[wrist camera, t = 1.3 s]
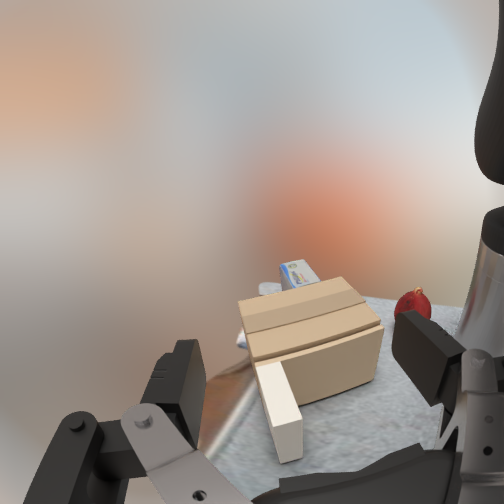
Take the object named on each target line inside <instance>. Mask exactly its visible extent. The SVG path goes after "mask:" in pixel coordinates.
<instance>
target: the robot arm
mask: <svg viewBox="0 0 504 504" xmlns="http://www.w3.org/2000/svg"><path fill="white" fill-rule="evenodd" d="M474 142H475V143H474V144H475V155H476V160H477V163H478V165H479V168H480V170H481V171H482V173H483V174H484V175H485V176H486V177H487V178H488V179H490V180H491V181H493V182H496V183H499V184H502V185H504V0H499V30H498V41H497V48H496V54H495V58H494V62H493V66H492V70H491V74H490V77H489V80H488V83H487V86H486V89H485V93H484V96H483V98H482V102H481V105H480V108H479V112H478V116H477V121H476V127H475V139H474ZM392 354H393V356H394V358H395V360H396V361H397V362H398V364H399V365H400V366H401V368H402V369H403V370H404V371H405V373H406V374H407V375H408V377H409V378H410V379H411V381H412V382H413V383H414V385H415V386H416V387H417V389H418V390H419V392H420V393H421V394H422V396H423V397H424V398H425V400H426V401H427V402H428V404H429V405H430V407H432V406H434V405H436V404H439V403H441V402H442V403H443V407H442V409H441V413H440V419H439V425H438V431H437V436H436V441H435V446H434V449H432V450H423V448H422V447H421V445H420V443H417V444H414V445H412V446H409V447H407V448H404V449H401V450H399V451H396V452H393V453H390V454H388V455H386V456H385V457H383V458H381V459H380V460H378V461H376V462H374V463H373V464H371V465H369V466H367V467H365V468H363V469H362V470H359V471H356V472H341V473H313V474H308V475H302V476H295V477H288V478H280V479H279V488H276V489H273V490H270V491H268V492H265V493H263V494H261V495H259V496H257V497H255V498H254V499H252V500H251V501H250V500H249V499H248V498H246V497H245V496H244V495H243V494H242V493H241V492H240V491H239V490H238V489H237V488H236V487H235V486H234V485H233V484H232V483H231V482H230V481H228V480H227V479H226V478H225V477H224V476H223V474H222V473H221V472H220V471H219V470H218V469H217V468H216V467H215V466H214V465H213V464H212V463H211V462H210V461H209V460H208V459H207V458H206V456H205V455H204V454H203V453H202V452H201V451H200V450H198V449H197V444H198V437H199V430H200V423H201V416H202V409H203V402H204V395H205V389H206V373H205V368H204V364H203V360H202V356H201V351H200V347H199V343H198V340H197V339H190V340H178V341H177V343H176V345H175V348H174V351H173V353H165V354H164V355H163V356H162V357H161V358H160V359H159V360H158V361H157V363H156V365H155V368H154V371H153V373H152V375H151V379H150V380H149V382H148V384H147V387H146V389H145V392H144V394H143V397H142V400H141V402H140V404H138V405H134V406H132V407H130V408H129V409H128V410H126V411H125V412H124V414H123V415H122V417H121V419H120V420H114V421H107V422H97V420H96V418H95V417H94V416H93V415H92V414H90V413H88V412H84V411H79V412H74V413H71V414H69V415H68V416H66V417H65V418H64V419H63V420H62V422H61V423H60V425H59V427H58V429H57V431H56V433H55V435H54V437H53V439H52V441H51V443H50V444H49V446H48V449H47V451H46V453H45V455H44V457H43V459H42V461H41V463H40V465H39V468H38V470H37V472H36V474H35V476H34V478H33V481H32V483H31V486H30V488H29V490H28V492H27V495H26V497H25V500H24V502H23V504H124V501H125V496H126V491H127V487H128V482H129V478H138V477H146V476H148V477H149V479H150V480H151V482H152V484H153V485H154V487H155V488H156V490H157V491H158V493H159V494H160V496H161V497H162V499H163V500H164V502H165V503H166V504H504V356H503V355H504V206H502V207H499V208H496V209H493V210H491V211H489V212H488V213H487V214H486V215H485V217H484V220H483V225H482V232H481V239H480V244H479V249H478V254H477V260H476V264H475V269H474V273H473V277H472V281H471V285H470V289H469V292H468V296H467V299H466V303H465V306H464V309H463V312H462V315H461V319H460V321H459V324H458V327H457V330H456V333H455V335H454V338H453V337H452V336H451V335H448V333H447V332H446V331H445V330H443V328H442V327H440V326H439V325H438V324H437V323H436V322H433V321H431V320H429V319H427V318H424V317H423V316H422V315H421V314H420V313H419V312H417V311H416V310H409V311H405V312H400V313H398V314H397V316H396V320H395V327H394V334H393V340H392Z"/></svg>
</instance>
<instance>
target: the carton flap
mask: <svg viewBox="0 0 504 504" xmlns="http://www.w3.org/2000/svg"><path fill="white" fill-rule="evenodd" d="M383 333H384V327H383V325H382V324H381V325H379V326H376V327H373V328H371V329H368V330H365V331H362V332H359V333H356V334H354V335H351V336H348V337H345V338H342V339H339V340H336V341H332V342H329V343H326V344H323V345H319V346H316V347H313V348H309V349H306V350H302V351H299V352H295V353H292V354H288V355H284V356H280V357H277V358H273V359H269V360H264V361H260V362H256V363H254V364H255V368H256V373H257V378H258V382H259V387H260V392H261V396H262V401H263V405H264V410H265V413H266V417H267V420H268V424H269V427H270V431H271V434H272V437H273V441H274V444H275V447H276V451H277V454H278V457H279V461H280V464H281V463H285V462H289V461H293V460H296V459H300V458H303V419H302V416H301V414H300V411H299V409H298V406H300V405H303V404H307V403H310V402H313V401H316V400H319V399H322V398H325V397H328V396H331V395H334V394H337V393H340V392H343V391H345V390H348V389H351V388H353V387H356V386H359V385H361V384H364V383H366V382H369V381H371V380H373V378H374V374H375V370H376V366H377V361H378V357H379V352H380V348H381V343H382V338H383Z"/></svg>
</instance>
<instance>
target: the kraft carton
mask: <svg viewBox="0 0 504 504" xmlns="http://www.w3.org/2000/svg"><path fill="white" fill-rule="evenodd" d="M238 305H239V310H240V315H241V319H242V324H243V329H244V333H245V338H246V343H247V347H248V352H249V356H250V360H251V364H252V367H253V371H254V375H255V378H256V382H257V386H258V389H259V393H260V396H261V392H260V387H259V382H258V378H257V373H256V368H255V364H254V363H256V362H260V361H264V360H269V359H273V358H277V357H280V356H284V355H288V354H292V353H295V352H299V351H302V350H306V349H309V348H313V347H316V346H319V345H323V344H326V343H329V342H332V341H336V340H339V339H342V338H345V337H348V336H351V335H354V334H356V333H359V332H362V331H365V330H368V329H371V328H373V327H376V326H379V325H380V321H381V319H380V318H379V317H378V316H377V315H376V313H375V312H374V311H373V310H372V309H371V308H370V307H369V306H368V305H367V303H366V302H365V300H364V299H363V298H362V297H361V295H360V294H359V293H358V292H357V291H356V290H355V289H353V288H352V287H351V286H350V285H349V284H348V283H347V282H346V281H345V280H344V279H343V278H342V277H338V278H334V279H330V280H326V281H322V282H318V283H314V284H310V285H306V286H302V287H298V288H294V289H290V290H286V291H282V292H277V293H273V294H269V295H265V296H260V297H256V298H251V299H247V300H242V301H238ZM261 400H262V396H261ZM262 403H263V401H262ZM263 407H264V405H263Z"/></svg>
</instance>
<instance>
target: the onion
mask: <svg viewBox="0 0 504 504" xmlns="http://www.w3.org/2000/svg"><path fill="white" fill-rule="evenodd" d="M422 292H423V290H422V288H421V287H417V288H416V289H415V290H414V291H411V292H408V293H406V294H405V295H403V297H401V298H400V299H399V301H398V302H397V305H396V307H395V311H394V317H395V320H396V316H397V314H398V313H400V312H405V311H409V310H416V311H417V312H419V313H420V314H421V315H422V316H423V317H424V318H427V319H429V320H430V318H431V305H430V302H429V300H428V299H427V297H426V296H425V295H424V294H422Z"/></svg>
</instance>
